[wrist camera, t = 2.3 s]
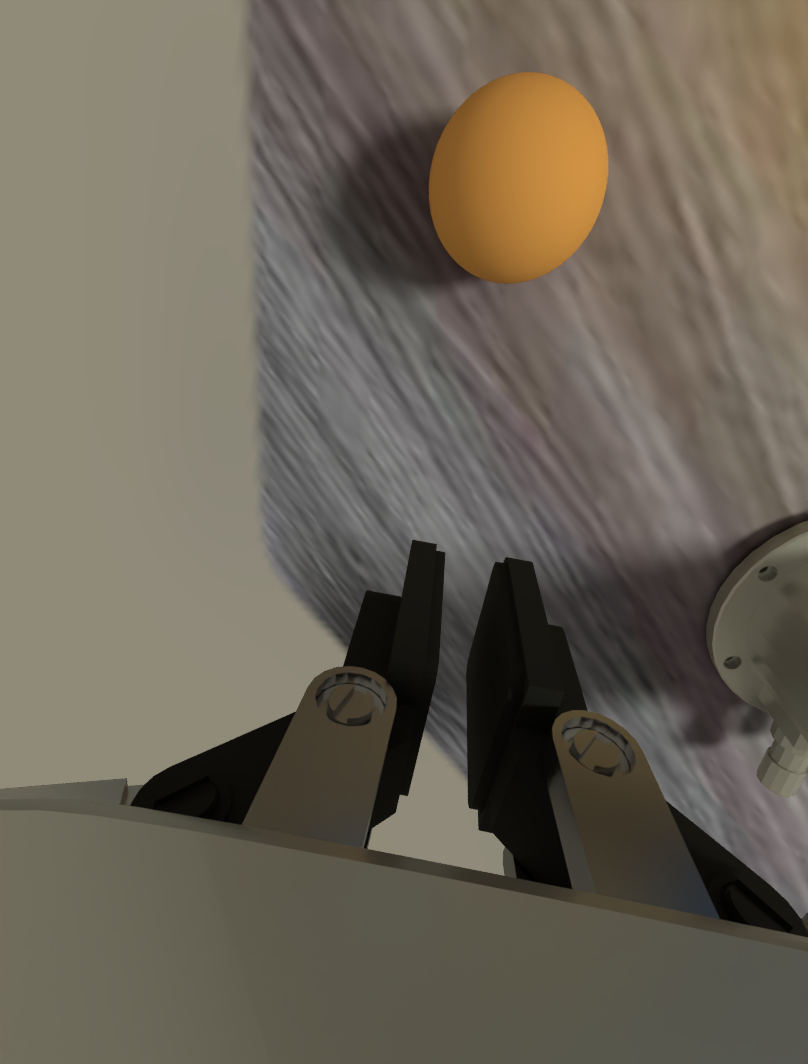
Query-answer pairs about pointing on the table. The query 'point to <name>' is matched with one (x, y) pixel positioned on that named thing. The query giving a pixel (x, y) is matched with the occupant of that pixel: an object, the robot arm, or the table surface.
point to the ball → (518, 177)
